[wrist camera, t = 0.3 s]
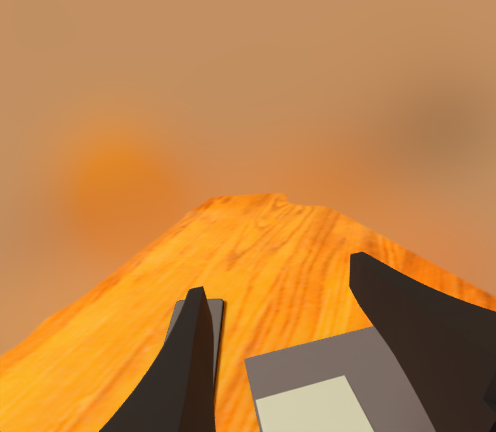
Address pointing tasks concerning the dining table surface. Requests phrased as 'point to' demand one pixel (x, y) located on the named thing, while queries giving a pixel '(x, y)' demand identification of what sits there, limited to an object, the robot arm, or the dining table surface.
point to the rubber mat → (335, 388)
